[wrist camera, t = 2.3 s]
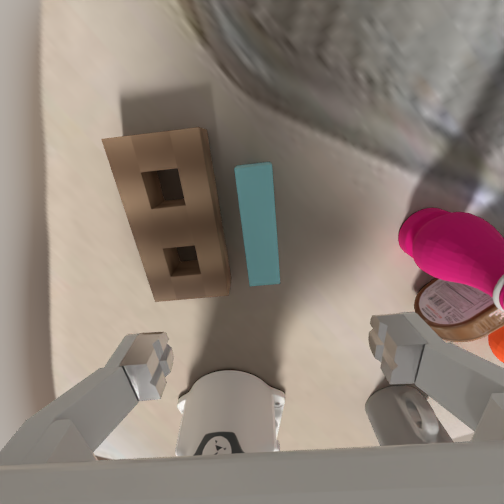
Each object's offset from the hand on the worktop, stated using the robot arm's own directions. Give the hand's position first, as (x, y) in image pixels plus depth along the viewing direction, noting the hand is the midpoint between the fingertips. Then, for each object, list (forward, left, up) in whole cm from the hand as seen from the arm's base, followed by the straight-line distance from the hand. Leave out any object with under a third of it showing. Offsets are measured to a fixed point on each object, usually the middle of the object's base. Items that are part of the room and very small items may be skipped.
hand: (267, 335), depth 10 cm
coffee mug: (-36, -21, -21) cm, 47 cm away
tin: (-11, -25, -21) cm, 34 cm away
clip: (0, 0, -21) cm, 21 cm away
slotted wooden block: (0, +9, -21) cm, 23 cm away
